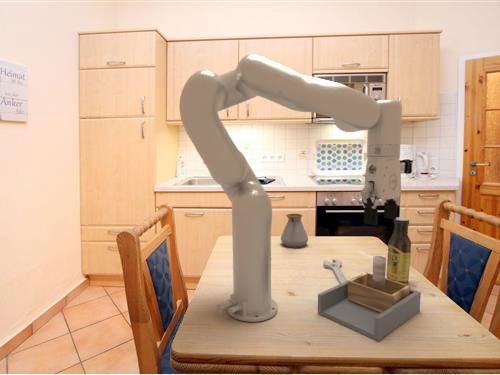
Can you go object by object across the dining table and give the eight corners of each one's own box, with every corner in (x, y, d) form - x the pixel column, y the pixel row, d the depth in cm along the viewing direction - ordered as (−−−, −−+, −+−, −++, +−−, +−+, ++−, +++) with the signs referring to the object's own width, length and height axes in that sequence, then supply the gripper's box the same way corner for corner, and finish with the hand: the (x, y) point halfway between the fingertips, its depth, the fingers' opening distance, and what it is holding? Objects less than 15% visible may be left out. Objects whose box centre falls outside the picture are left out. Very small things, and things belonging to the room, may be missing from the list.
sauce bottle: (382, 278, 104) (385, 216, 102) (401, 278, 104) (404, 215, 102) (392, 287, 98) (395, 220, 95) (413, 286, 98) (417, 220, 96)
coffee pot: (282, 240, 147) (282, 207, 146) (308, 241, 145) (309, 207, 143) (276, 256, 127) (276, 217, 125) (306, 257, 124) (307, 218, 123)
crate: (391, 316, 78) (394, 268, 77) (347, 299, 87) (348, 256, 86) (409, 304, 84) (411, 259, 83) (366, 289, 93) (367, 248, 92)
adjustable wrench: (354, 295, 94) (354, 289, 94) (330, 294, 95) (330, 288, 95) (340, 263, 119) (340, 258, 119) (322, 263, 120) (322, 258, 119)
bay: (378, 341, 71) (379, 319, 70) (317, 313, 83) (318, 294, 82) (419, 311, 84) (420, 291, 83) (362, 290, 96) (362, 273, 95)
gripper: (379, 153, 73) (377, 229, 75) (414, 152, 84) (411, 218, 86) (349, 153, 79) (347, 224, 81) (385, 151, 90) (383, 214, 92)
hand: (380, 221), depth 84 cm, fingers open, 9 cm apart
